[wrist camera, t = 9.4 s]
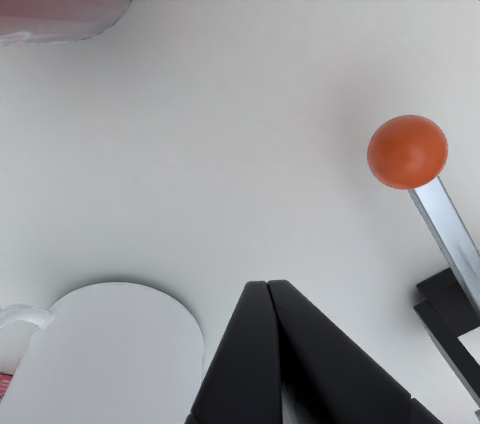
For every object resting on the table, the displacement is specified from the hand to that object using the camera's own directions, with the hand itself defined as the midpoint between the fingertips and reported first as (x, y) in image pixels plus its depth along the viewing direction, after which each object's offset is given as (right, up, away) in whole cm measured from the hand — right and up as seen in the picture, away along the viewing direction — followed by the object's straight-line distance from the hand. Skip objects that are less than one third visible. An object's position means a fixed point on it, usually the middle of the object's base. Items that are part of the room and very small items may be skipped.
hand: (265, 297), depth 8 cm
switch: (+10, -1, +10) cm, 15 cm away
